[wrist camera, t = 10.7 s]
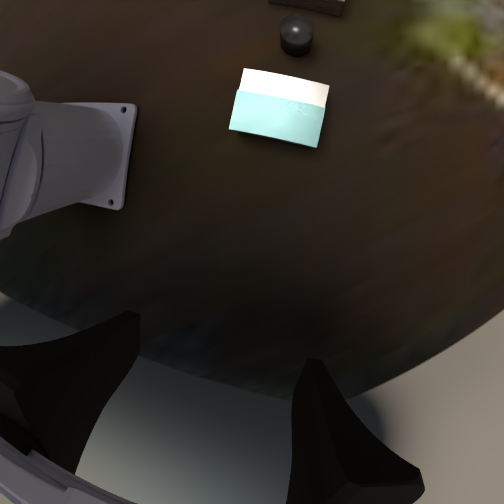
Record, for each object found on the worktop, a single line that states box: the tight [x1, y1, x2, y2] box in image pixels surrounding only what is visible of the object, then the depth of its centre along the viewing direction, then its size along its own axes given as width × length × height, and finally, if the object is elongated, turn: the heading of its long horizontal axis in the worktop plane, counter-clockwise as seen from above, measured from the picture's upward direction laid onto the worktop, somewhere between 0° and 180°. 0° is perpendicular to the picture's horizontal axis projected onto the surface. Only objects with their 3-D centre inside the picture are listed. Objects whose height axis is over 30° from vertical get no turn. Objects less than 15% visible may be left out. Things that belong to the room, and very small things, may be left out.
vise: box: [229, 0, 345, 149], centre depth 15 cm, size 5×14×3 cm, turn 168°
